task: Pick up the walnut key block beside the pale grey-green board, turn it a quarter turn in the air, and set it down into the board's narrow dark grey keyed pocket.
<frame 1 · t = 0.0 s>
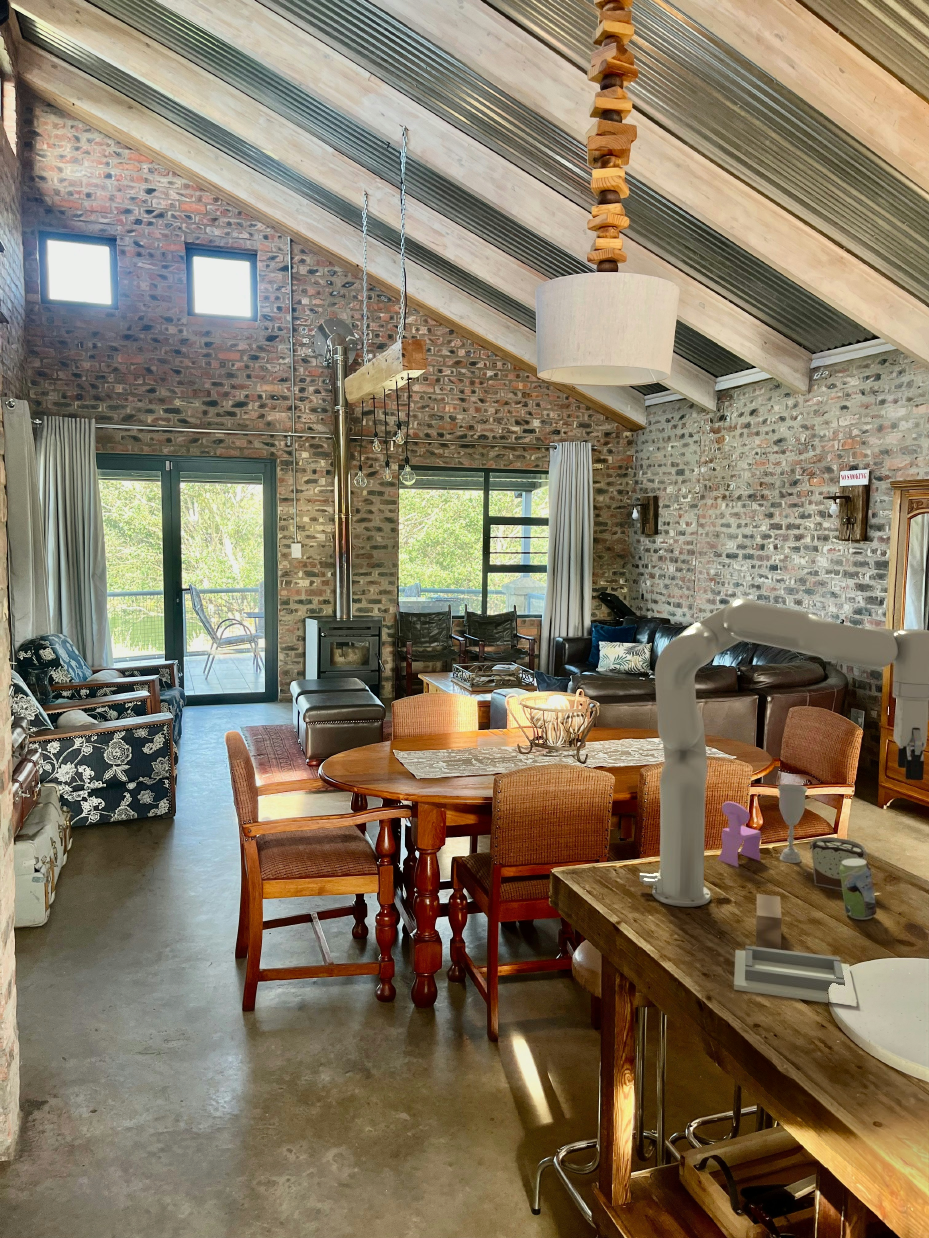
hand: (910, 773, 184), 31 cm above the kitchen island, tool pointing down, fingers open, 9 cm apart
food container: (839, 885, 207), on the kitchen island
key block: (767, 939, 178), on the kitchen island
pocket board: (792, 979, 162), on the kitchen island
toy chair: (739, 860, 223), on the kitchen island
chalice: (790, 859, 223), on the kitchen island
beverage can: (857, 917, 189), on the kitchen island
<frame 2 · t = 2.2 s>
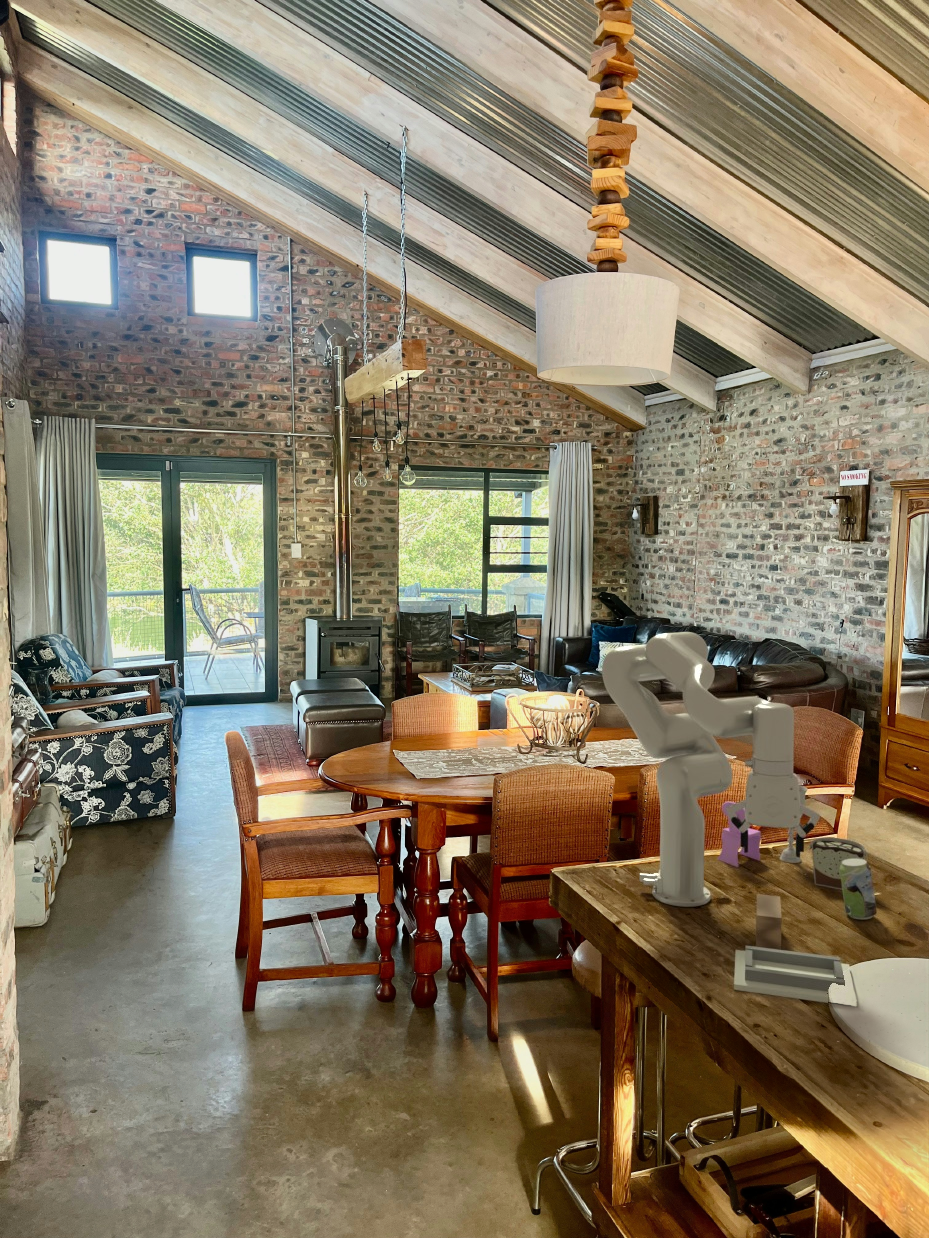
hand: (771, 852, 177), 18 cm above the kitchen island, tool pointing down, fingers open, 9 cm apart
nothing on the kitchen island moved.
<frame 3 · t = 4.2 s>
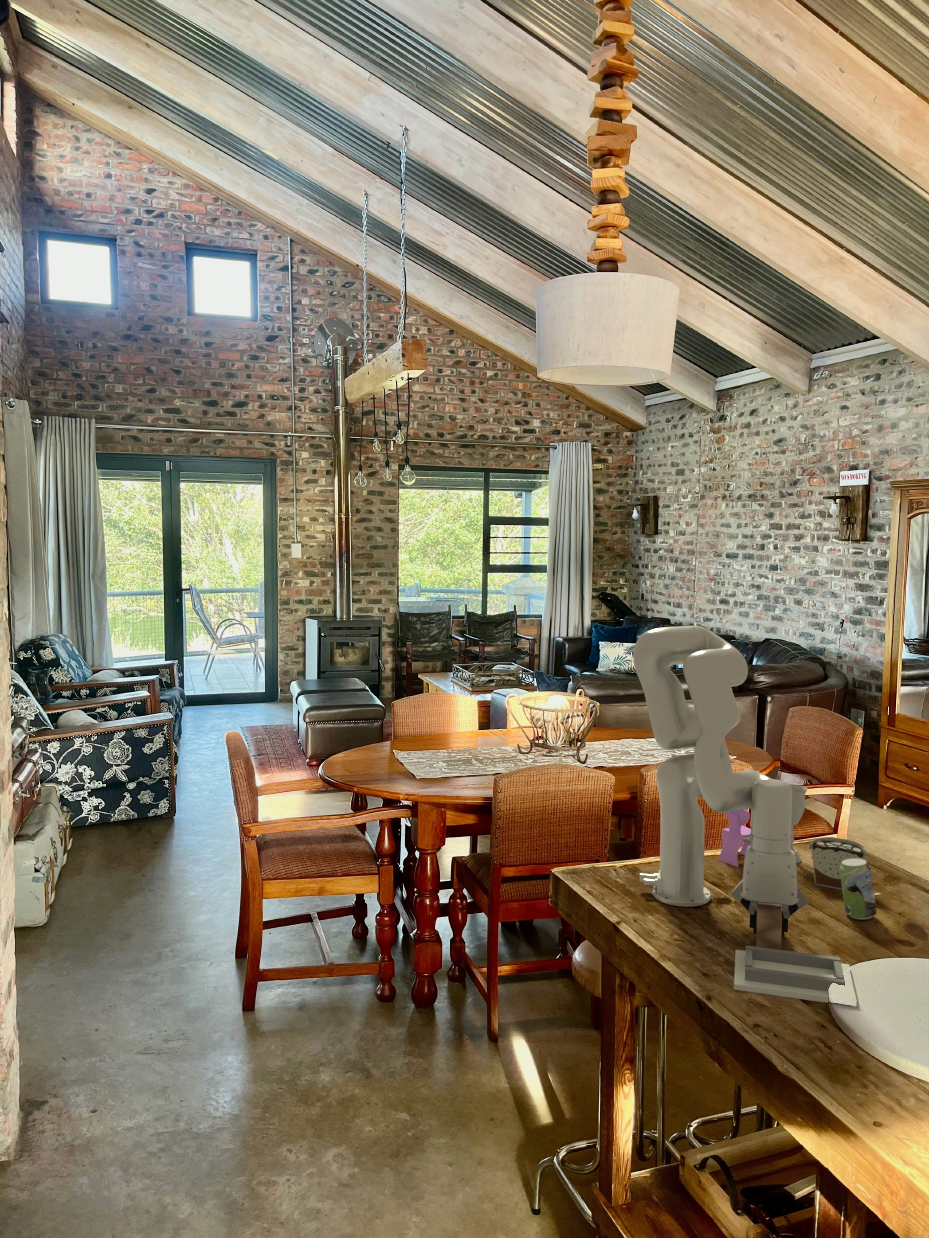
hand: (768, 932, 178), 1 cm above the kitchen island, tool pointing down, fingers closed on key block, 4 cm apart
key block: (768, 939, 178), on the kitchen island, touching gripper
everything else where it was.
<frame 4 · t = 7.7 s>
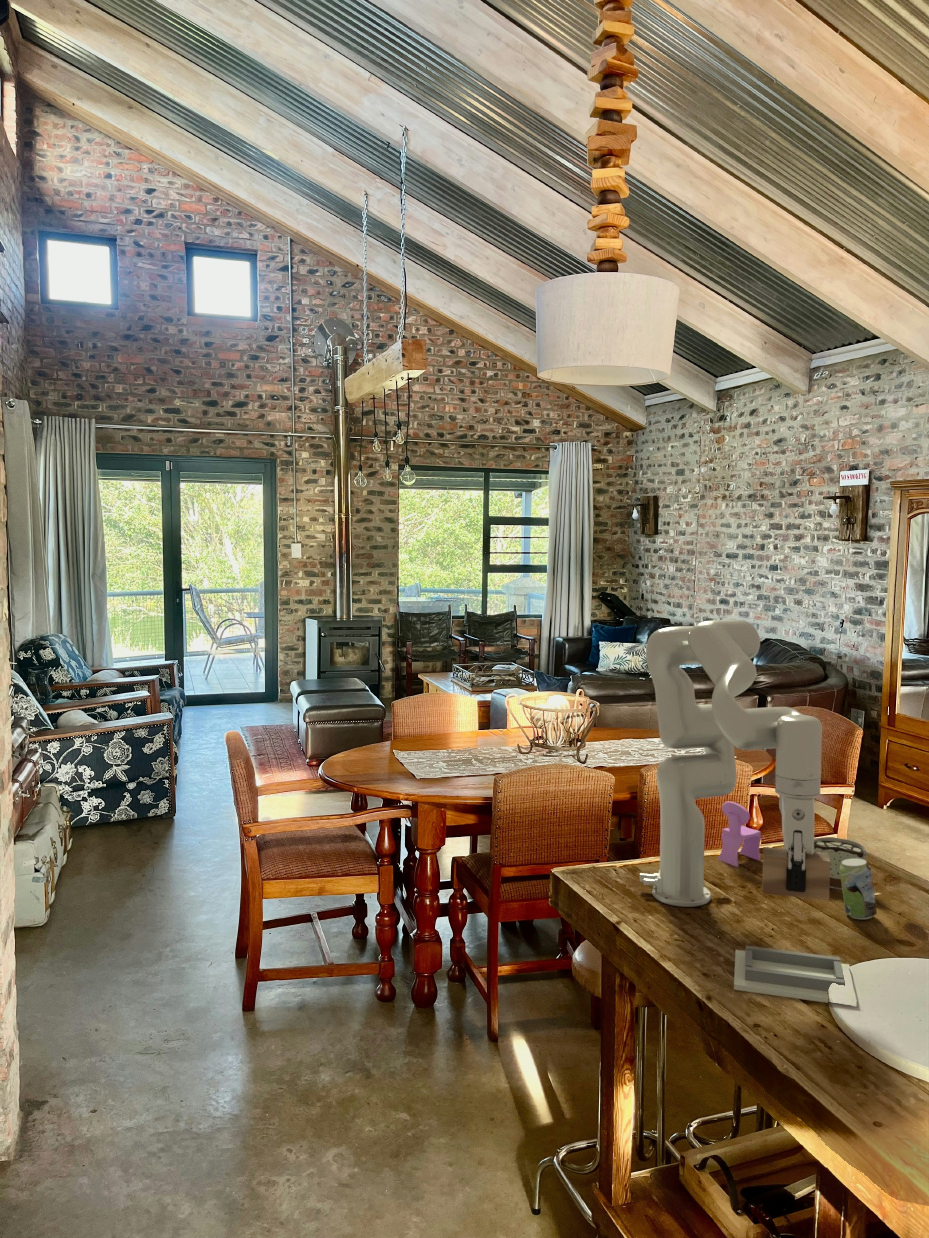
hand: (795, 884, 161), 17 cm above the kitchen island, tool pointing down, fingers closed on key block, 4 cm apart
key block: (795, 892, 161), point 16 cm above the kitchen island, touching gripper
everything else where it was.
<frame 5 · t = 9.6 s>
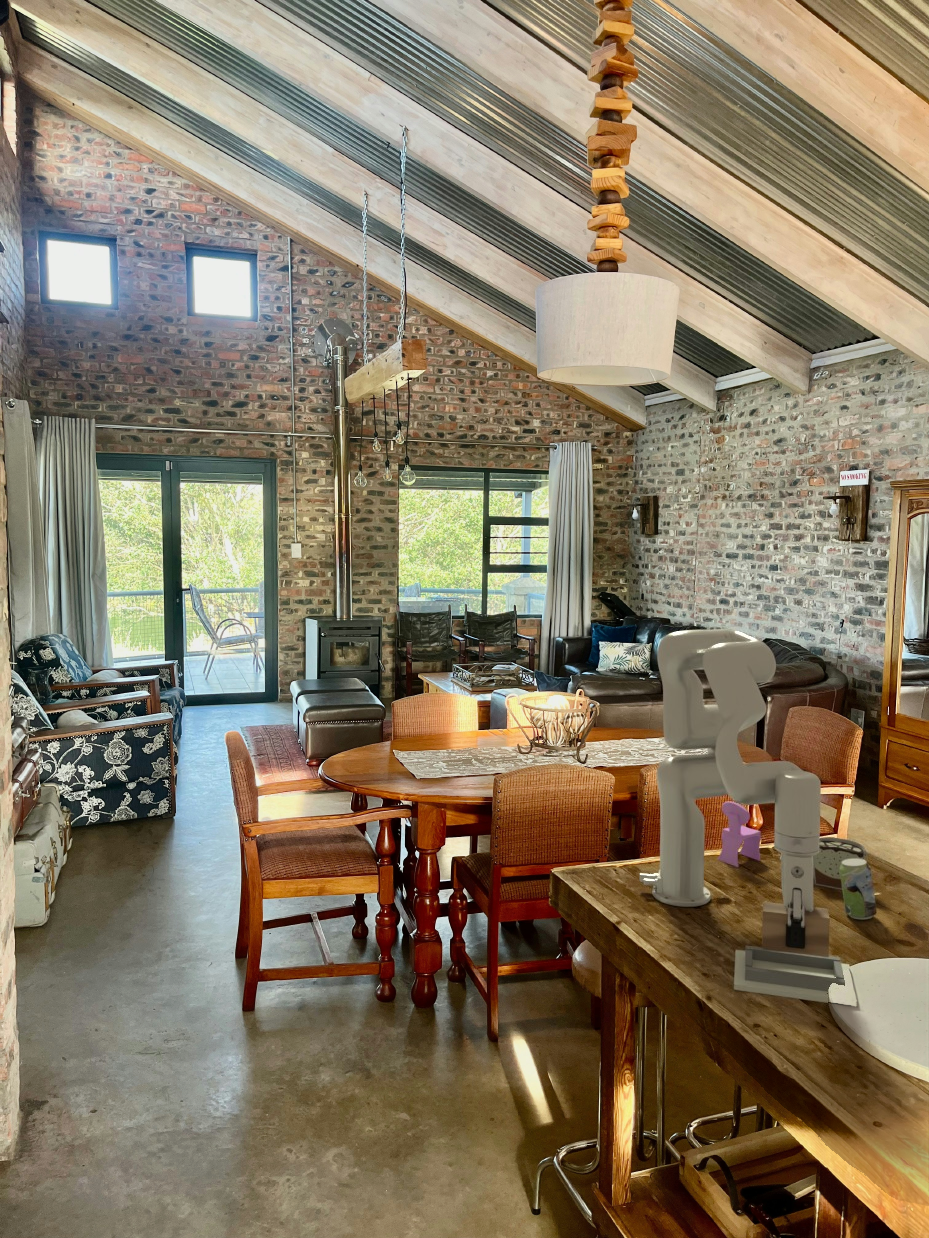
hand: (794, 940, 161), 7 cm above the kitchen island, tool pointing down, fingers closed on key block, 4 cm apart
key block: (794, 947, 161), point 6 cm above the kitchen island, touching gripper
everything else where it was.
when the fingers open (4 cm above the kitchen island, at t = 11.0 s): key block drops 2 cm, resting on pocket board.
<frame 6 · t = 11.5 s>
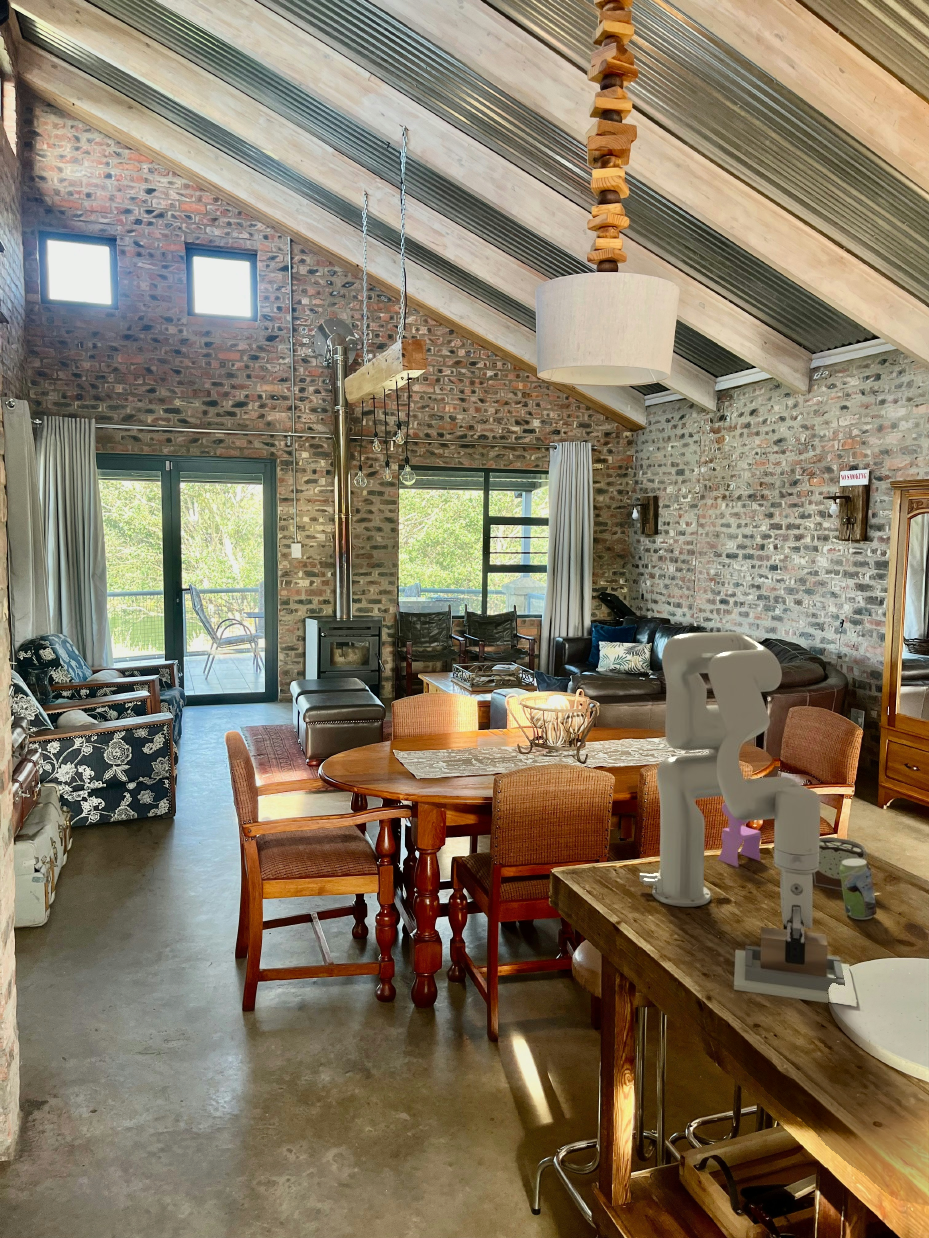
hand: (793, 950, 162), 5 cm above the kitchen island, tool pointing down, fingers open, 9 cm apart
key block: (792, 973, 162), point 1 cm above the kitchen island, touching pocket board
everything else where it was.
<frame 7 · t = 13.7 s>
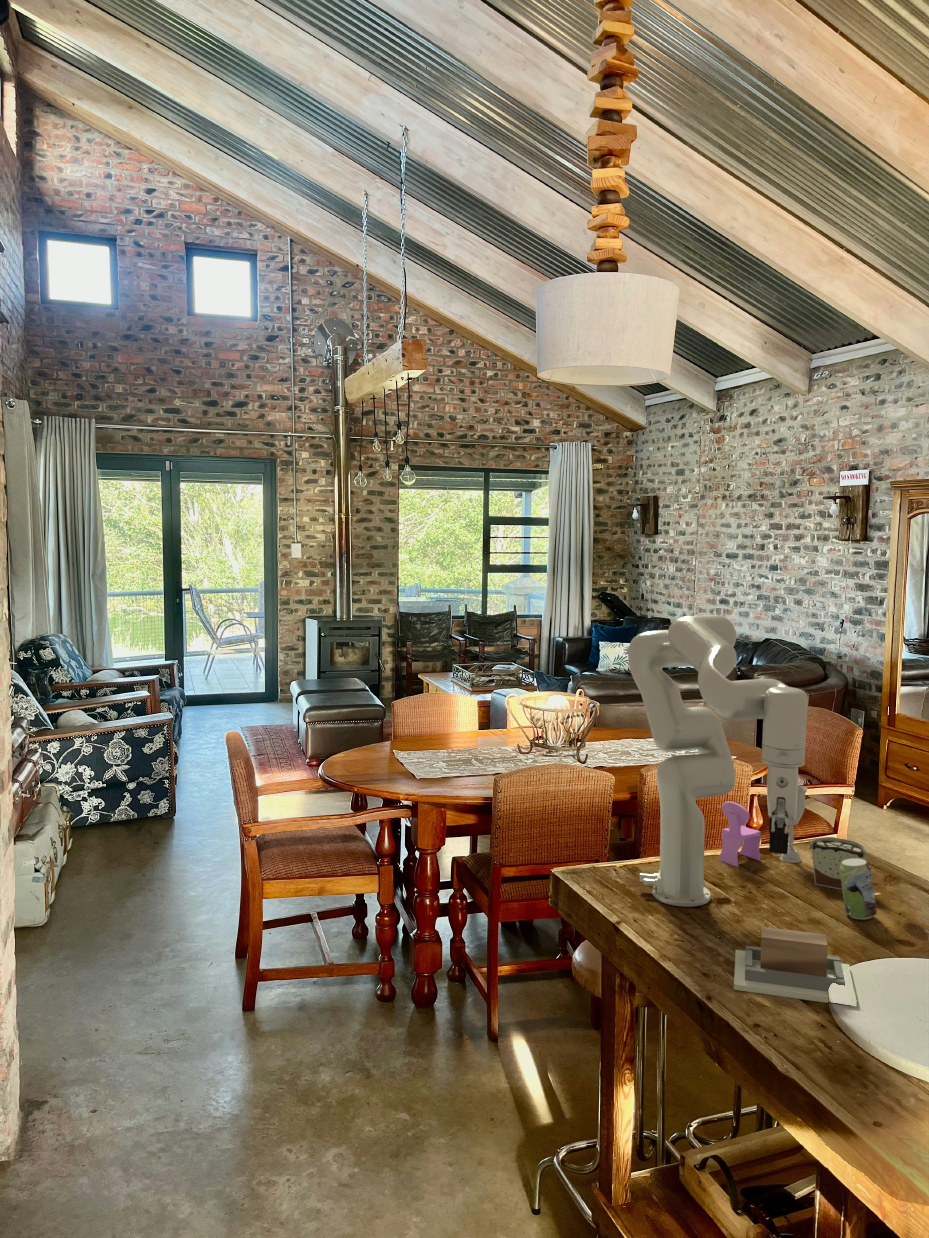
hand: (777, 843, 168), 22 cm above the kitchen island, tool pointing down, fingers open, 9 cm apart
nothing on the kitchen island moved.
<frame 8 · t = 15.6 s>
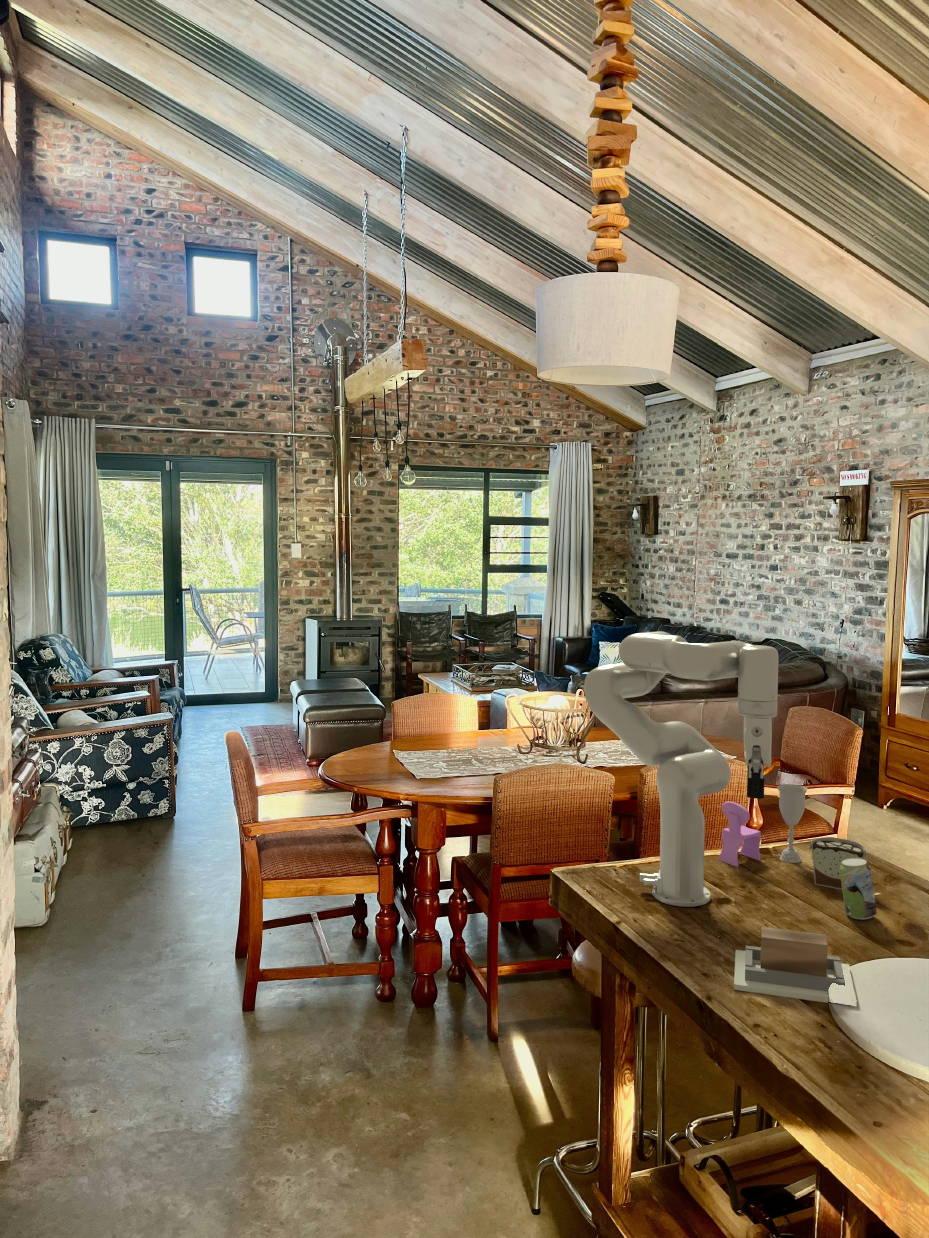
hand: (755, 791, 182), 28 cm above the kitchen island, tool pointing down, fingers open, 9 cm apart
nothing on the kitchen island moved.
at the end: key block 0.3 cm off-centre on the pocket board, point 1.0 cm above the pocket board's base; key block tilted 0°; the gripper is holding nothing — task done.
